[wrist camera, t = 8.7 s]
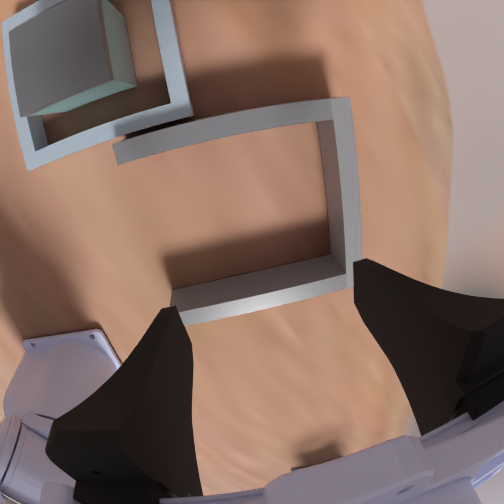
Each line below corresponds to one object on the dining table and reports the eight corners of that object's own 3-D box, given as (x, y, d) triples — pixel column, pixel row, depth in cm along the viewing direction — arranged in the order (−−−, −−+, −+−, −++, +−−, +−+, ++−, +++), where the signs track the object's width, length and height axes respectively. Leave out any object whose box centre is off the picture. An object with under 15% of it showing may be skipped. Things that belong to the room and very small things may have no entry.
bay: (177, 302, 23) (174, 327, 21) (125, 138, 18) (112, 144, 15) (346, 264, 24) (362, 284, 21) (330, 97, 18) (349, 97, 16)
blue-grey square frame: (41, 165, 17) (27, 171, 16) (16, 26, 12) (2, 22, 11) (194, 115, 18) (192, 115, 16) (164, -35, 13) (160, -47, 11)
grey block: (67, 111, 16) (20, 117, 11) (56, 45, 14) (8, 31, 9) (137, 86, 17) (109, 78, 11) (125, 17, 14) (95, -12, 9)
